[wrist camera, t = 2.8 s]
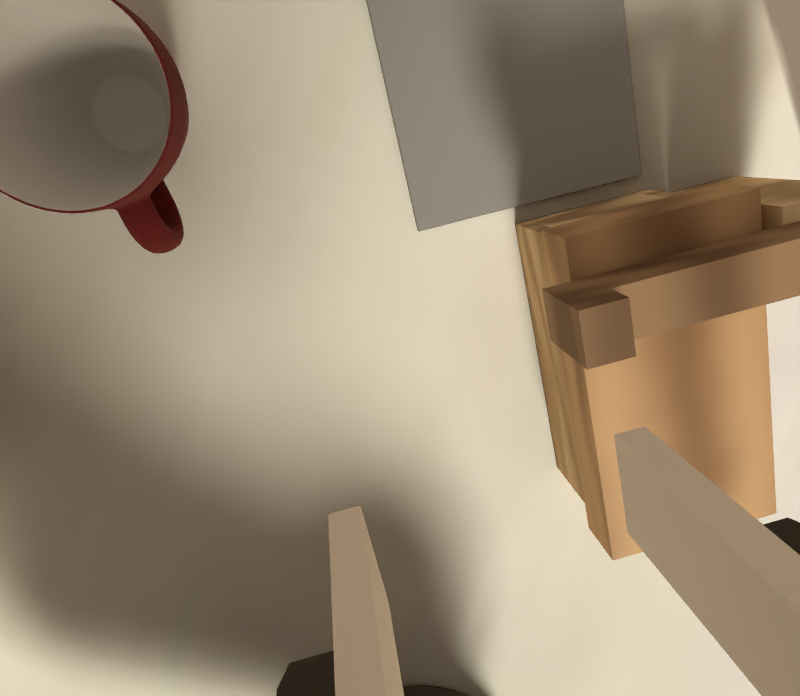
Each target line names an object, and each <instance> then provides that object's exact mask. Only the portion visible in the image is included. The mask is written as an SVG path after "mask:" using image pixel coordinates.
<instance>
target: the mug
mask: <svg viewBox="0 0 800 696" xmlns="http://www.w3.org/2000/svg"><path fill="white" fill-rule="evenodd" d="M188 122H189V113H188V104H187V99H186V94H185V89H184V86H183V82H182V79H181V76H180V74H179V71H178V69H177V67H176V65H175V63H174V61H173V59H172V57H171V55H170V54H169V52H168V50H167V49H166V47H165V46H164V44H163V43H162V42H161V40H160V39H159V38H158V37H157V35H156V34H155V33H154V32H153V31H152V30H151V29H150V28H149V26H148V25H147V24H145V23H144V22H143V21H142V20H141V19H140V18H139V17H138V16H137V15H135V14H134V13H133V12H132V11H130V10H129V9H128V8H126V7H125V6H124V5H122V4H121V3H119V2H118V1H116V0H0V192H2V193H4V194H5V195H7V196H9V197H11V198H13V199H15V200H17V201H19V202H21V203H24V204H26V205H29V206H32V207H35V208H39V209H43V210H47V211H53V212H59V213H85V212H93V211H99V210H104V209H115V210H117V211H118V213H119V215H120V217H121V219H122V221H123V222H124V224H125V226H126V228H127V229H128V231H129V232H130V234H131V235H132V237H133V238H134V239H135V240H136V241H137V242H138V243H139V244H140V245H141V246H142V247H143V248H144V249H146V250H148V251H150V252H152V253H165V252H169V251H171V250H173V249H175V248H176V247H177V246H178V245H179V244H181V241H182V239H183V234H184V232H183V225H182V221H181V217H180V214H179V211H178V209H177V206H176V204H175V202H174V200H173V198H172V196H171V194H170V192H169V190H168V188H167V186H166V184H165V182H164V180H163V179H164V178H165V176H166V175H167V174H168V173H169V171H170V170H171V168H172V167H173V165H174V164H175V162H176V160H177V158H178V157H179V155H180V152H181V150H182V147H183V145H184V142H185V139H186V136H187V131H188Z"/></svg>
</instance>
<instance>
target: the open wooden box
mask: <svg viewBox="0 0 800 696" xmlns="http://www.w3.org/2000/svg"><path fill="white" fill-rule="evenodd" d="M717 184H726V185H739V186H751V187H760V194H761V215H762V231H764V230H767V229H771V228H775V227H779V226H783V225H786V224H790V223H794V222H798V221H800V180H785V179H769V178H752V177H736V176H734V177H730V178H726V179H722V180H718V181H714V182H710V183H706V184H703V185H699V186H695V187H691V188H687V189H683V190H679V191H675V192H665V191H657V190H645V191H641V192H637V193H633V194H629V195H625V196H621V197H618V198H614V199H610V200H606V201H602V202H598V203H594V204H590V205H586V206H583V207H579V208H575V209H571V210H567V211H563V212H559V213H555V214H552V215H548V216H544V217H540V218H536V219H532V220H528V221H524V222H520V223H517V224H515V226H516V232H517V238H518V243H519V249H520V255H521V261H522V266H523V272H524V278H525V284H526V290H527V295H528V301H529V307H530V313H531V318H532V324H533V330H534V336H535V341H536V347H537V353H538V359H539V364H540V370H541V376H542V382H543V387H544V393H545V399H546V405H547V410H548V416H549V422H550V428H551V434H552V439H553V445H554V451H555V457H556V462H557V467H558V469H559V470H560V471H561V473H562V474H563V475H564V477H565V478H566V479H567V480H568V482H569V483H570V484H571V486H572V487H573V488H574V490H575V491H576V492H577V493H578V495H579V496H580V497H581V499H582V500H583V501H584V502H585V500H584V494H583V487H582V481H581V475H580V469H579V463H578V456H577V450H576V444H575V438H574V432H573V425H572V419H571V413H570V407H569V400H568V394H567V388H566V382H565V376H564V369H563V363H562V357H561V351H560V348H559V347H558V346H557V345H555V344H554V343H553V342H552V341H550V335H549V329H548V323H547V317H546V311H545V305H544V299H543V293H542V289H543V288H547V287H550V283H549V276H548V270H547V264H546V258H545V251H544V245H543V239H542V233H541V230H542V229H546V228H550V227H554V226H558V225H562V224H566V223H569V222H573V221H577V220H581V219H585V218H589V217H593V216H597V215H600V214H604V213H608V212H612V211H616V210H620V209H624V208H628V207H631V206H635V205H639V204H643V203H647V202H651V201H655V200H659V199H662V198H666V197H670V196H674V195H678V194H682V193H686V192H689V191H693V190H697V189H701V188H705V187H709V186H713V185H717Z"/></svg>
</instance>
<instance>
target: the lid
mask: <svg viewBox="0 0 800 696" xmlns="http://www.w3.org/2000/svg"><path fill="white" fill-rule="evenodd" d="M760 231H762V215H761V194H760V187H751V186H739V185H726V184H717V185H713V186H709V187H705V188H701V189H697V190H693V191H689V192H686V193H682V194H678V195H674V196H670V197H666V198H662V199H659V200H655V201H651V202H647V203H643V204H639V205H635V206H631V207H628V208H624V209H620V210H616V211H612V212H608V213H604V214H600V215H597V216H593V217H589V218H585V219H581V220H577V221H573V222H569V223H566V224H562V225H558V226H554V227H550V228H546V229H542V230H541V233H542V239H543V245H544V251H545V258H546V264H547V270H548V276H549V283H550V287H551V286H555V285H559V284H562V283H566V282H570V281H574V280H578V279H581V278H585V277H589V276H593V275H597V274H600V273H604V272H608V271H612V270H616V269H619V268H623V267H627V266H631V265H635V264H638V263H642V262H646V261H650V260H653V259H657V258H661V257H665V256H669V255H672V254H676V253H680V252H684V251H688V250H691V249H695V248H699V247H703V246H707V245H710V244H714V243H718V242H722V241H726V240H729V239H733V238H737V237H741V236H745V235H748V234H752V233H756V232H760ZM634 341H635V349H636V357H632V358H629V359H625V360H621V361H618V362H614V363H610V364H607V365H603V366H599V367H595V368H592V369H588V370H587V369H585V368H584V367H583V366H582V365H580V364H579V363H578V362H577V361H575V360H574V359H573V358H572V357H570V356H569V355H568V354H567V353H565V352H564V351H563V350H562V349H560V351H561V357H562V363H563V369H564V376H565V382H566V388H567V394H568V400H569V407H570V413H571V419H572V425H573V432H574V438H575V444H576V450H577V456H578V463H579V469H580V475H581V481H582V487H583V494H584V500H585V506H586V512H587V518H588V525H589V528H590V530H591V531H592V533H593V534H594V535H595V537H596V538H597V539H598V541H599V542H600V543H601V545H602V546H603V548H604V549H605V550H606V552H607V553H608V554H609V556H610V557H611V559H612V560H616V559H619V558H623V557H626V556H630V555H633V554H637V553H640V552H643V551H642V549H641V548H640V547H639V546H638V545H637V543H636V542H635V541H634V540H633V539H632V537H631V536H630V535H629V534H628V532H627V525H626V518H625V511H624V504H623V497H622V489H621V482H620V475H619V468H618V460H617V453H616V446H615V439H614V435H615V434H619V433H622V432H626V431H629V430H633V429H637V428H640V427H644V426H645V427H646V428H648V429H649V430H650V431H651V432H652V433H654V434H655V435H656V436H657V437H658V438H660V439H661V440H662V441H663V442H664V443H666V444H667V445H668V446H669V447H670V448H672V449H673V450H674V451H675V452H676V453H678V454H679V455H680V456H681V457H682V458H684V459H685V460H686V461H687V462H688V463H690V464H691V465H692V466H693V467H694V468H696V469H697V470H698V471H699V472H700V473H702V474H703V475H704V476H705V477H706V478H708V479H709V480H710V481H711V482H712V483H714V484H715V485H716V486H717V487H718V488H720V489H721V490H722V491H723V492H724V493H726V494H727V495H728V496H729V497H730V498H732V499H733V500H734V501H735V502H736V503H738V504H739V505H740V506H741V507H742V508H744V509H745V510H746V511H747V512H748V513H750V514H751V515H752V516H753V517H754V518H756V519H758V518H761V517H765V516H768V515H772V514H775V513H776V497H775V477H774V457H773V436H772V416H771V396H770V376H769V356H768V336H767V315H766V305H762V306H758V307H755V308H751V309H747V310H743V311H740V312H736V313H732V314H729V315H725V316H721V317H718V318H714V319H710V320H706V321H703V322H699V323H695V324H692V325H688V326H684V327H680V328H677V329H673V330H669V331H666V332H662V333H658V334H655V335H651V336H647V337H643V338H640V339H636V340H634Z"/></svg>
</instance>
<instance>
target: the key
mask: <svg viewBox="0 0 800 696" xmlns="http://www.w3.org/2000/svg"><path fill="white" fill-rule="evenodd" d="M542 293H543V299H544V305H545V311H546V317H547V323H548V329H549V335H550V341H552V342H553V343H554V344H555V345H557V346H558V347H559V348H560V349H562V350H563V351H564V352H565V353H567V354H568V355H569V356H570V357H572V358H573V359H574V360H575V361H577V362H578V363H579V364H580V365H582V366H583V367H584V368H585V369H587V370H588V369H592V368H595V367H599V366H603V365H607V364H610V363H614V362H618V361H621V360H625V359H629V358H632V357H636V349H635V341H634V340H636V339H640V338H643V337H647V336H651V335H655V334H658V333H662V332H666V331H669V330H673V329H677V328H680V327H684V326H688V325H692V324H695V323H699V322H703V321H706V320H710V319H714V318H718V317H721V316H725V315H729V314H732V313H736V312H740V311H743V310H747V309H751V308H755V307H758V306H762V305H766V304H769V303H773V302H777V301H781V300H784V299H788V298H792V297H795V296H799V295H800V221H798V222H794V223H790V224H786V225H783V226H779V227H775V228H771V229H767V230H764V231H760V232H756V233H752V234H748V235H745V236H741V237H737V238H733V239H729V240H726V241H722V242H718V243H714V244H710V245H707V246H703V247H699V248H695V249H691V250H688V251H684V252H680V253H676V254H672V255H669V256H665V257H661V258H657V259H653V260H650V261H646V262H642V263H638V264H635V265H631V266H627V267H623V268H619V269H616V270H612V271H608V272H604V273H600V274H597V275H593V276H589V277H585V278H581V279H578V280H574V281H570V282H566V283H562V284H559V285H555V286H551V287H547V288H543V289H542Z"/></svg>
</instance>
